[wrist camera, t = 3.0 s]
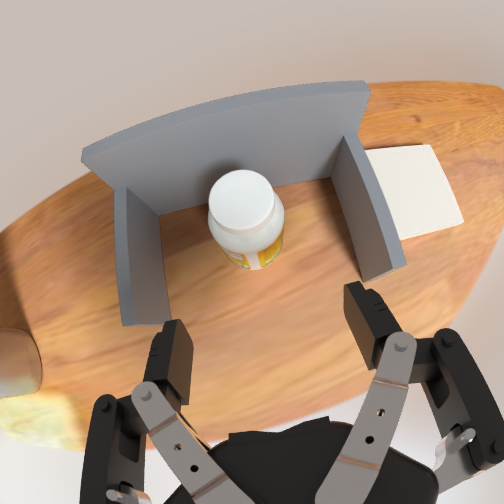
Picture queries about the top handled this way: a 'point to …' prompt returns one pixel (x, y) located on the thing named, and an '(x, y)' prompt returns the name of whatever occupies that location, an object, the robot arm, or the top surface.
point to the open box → (231, 159)
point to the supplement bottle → (246, 219)
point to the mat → (415, 189)
